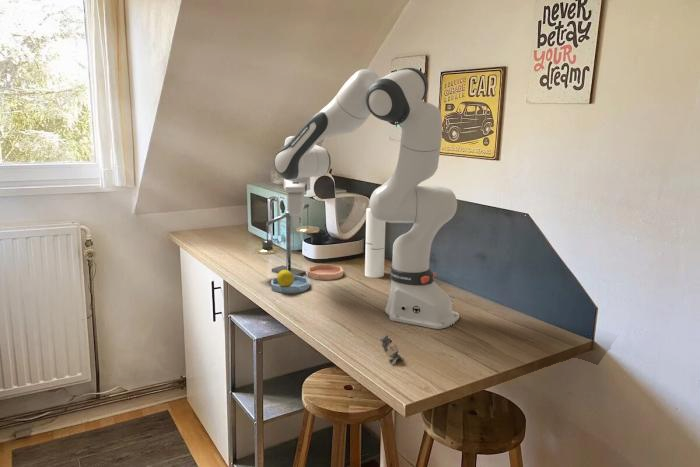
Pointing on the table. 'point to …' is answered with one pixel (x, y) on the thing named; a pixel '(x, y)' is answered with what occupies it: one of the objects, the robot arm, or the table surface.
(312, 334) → the table surface
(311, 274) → the terracotta dish
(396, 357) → the grey brown knobbly figurine
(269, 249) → the balance
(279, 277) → the lemon
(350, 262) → the table surface
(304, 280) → the blue dish
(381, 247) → the cylindrical container
